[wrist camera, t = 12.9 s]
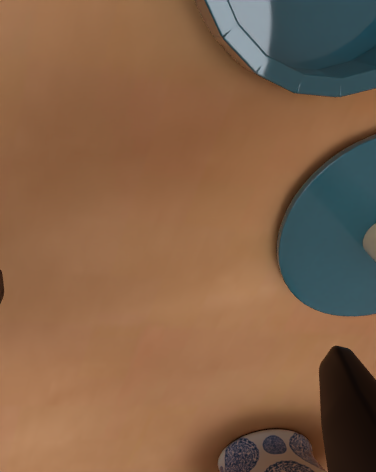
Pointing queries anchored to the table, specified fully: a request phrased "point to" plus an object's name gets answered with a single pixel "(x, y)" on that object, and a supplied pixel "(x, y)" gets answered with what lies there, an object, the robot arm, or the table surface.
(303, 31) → the dish
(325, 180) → the lid
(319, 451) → the table surface
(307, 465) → the lamp
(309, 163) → the table surface
